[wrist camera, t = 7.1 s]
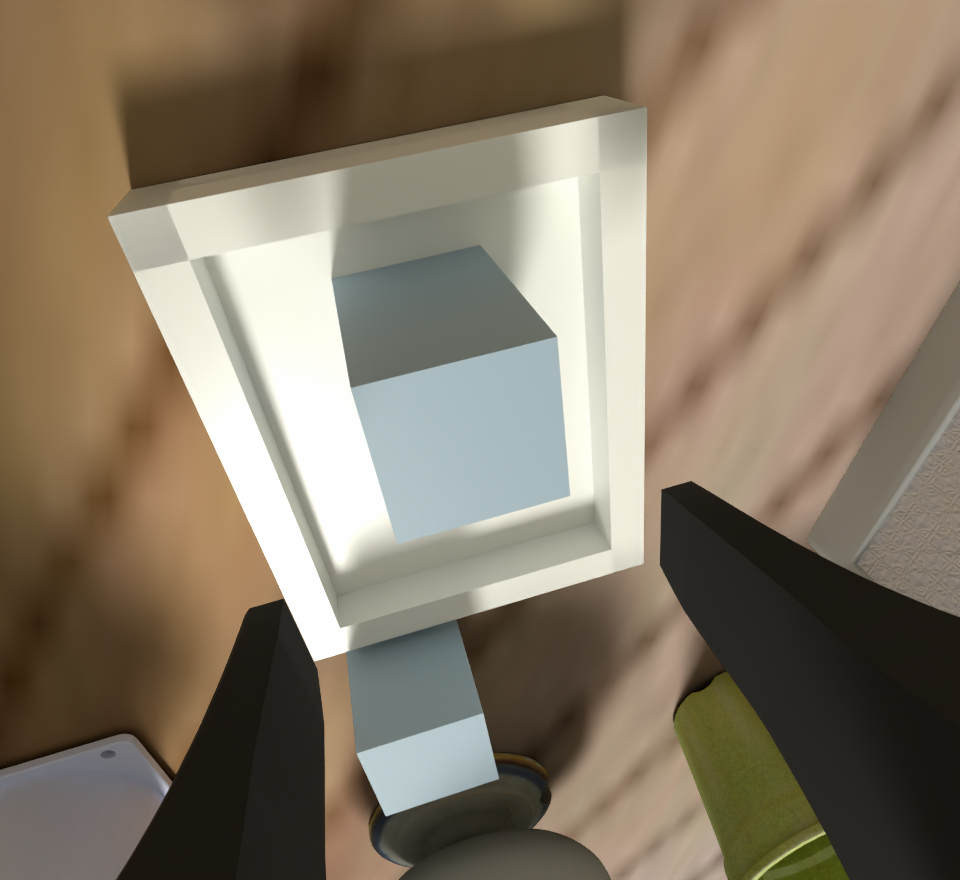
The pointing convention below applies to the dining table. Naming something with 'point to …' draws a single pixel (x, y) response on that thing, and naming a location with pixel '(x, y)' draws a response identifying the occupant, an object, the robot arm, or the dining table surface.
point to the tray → (322, 366)
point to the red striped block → (907, 482)
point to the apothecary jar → (485, 833)
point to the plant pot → (751, 791)
